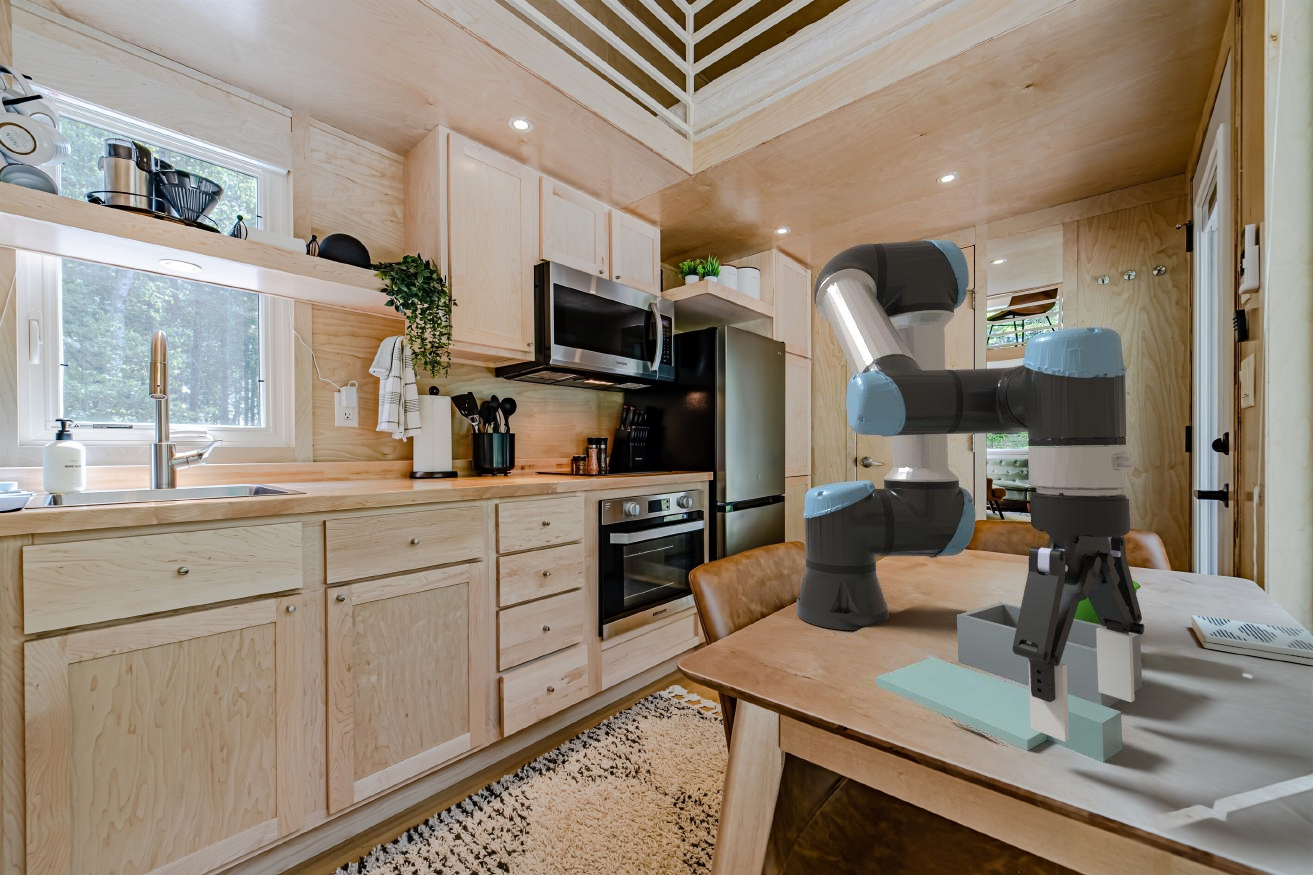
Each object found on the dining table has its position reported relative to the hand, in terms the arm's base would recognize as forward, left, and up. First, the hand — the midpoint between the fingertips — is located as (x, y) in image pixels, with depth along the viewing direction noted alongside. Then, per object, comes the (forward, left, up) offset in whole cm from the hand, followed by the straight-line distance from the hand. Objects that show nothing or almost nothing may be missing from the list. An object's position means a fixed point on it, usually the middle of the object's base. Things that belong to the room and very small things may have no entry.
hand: (1085, 714), depth 51 cm
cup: (-9, +27, -4) cm, 29 cm away
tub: (-10, +14, -4) cm, 18 cm away
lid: (-8, 0, -4) cm, 9 cm away
